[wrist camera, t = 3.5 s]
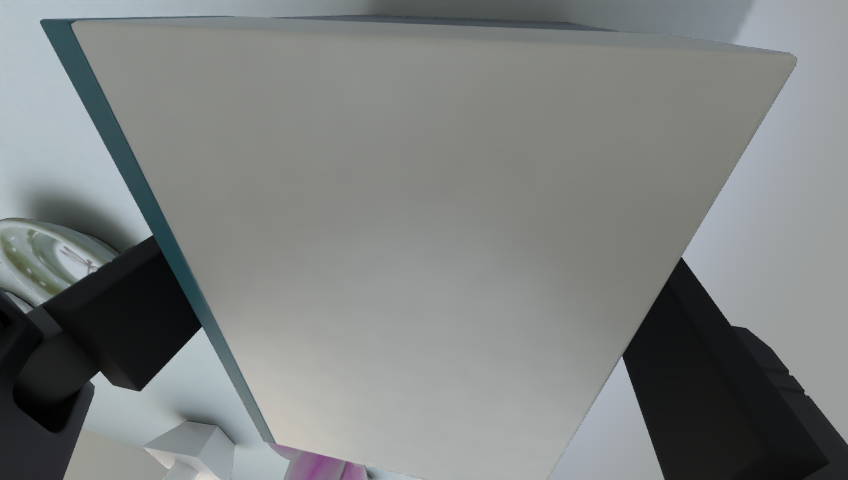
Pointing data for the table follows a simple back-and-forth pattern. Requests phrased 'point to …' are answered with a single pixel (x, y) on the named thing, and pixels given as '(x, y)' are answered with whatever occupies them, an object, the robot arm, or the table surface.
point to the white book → (418, 213)
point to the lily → (318, 466)
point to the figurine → (194, 452)
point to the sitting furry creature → (20, 303)
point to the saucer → (49, 255)
